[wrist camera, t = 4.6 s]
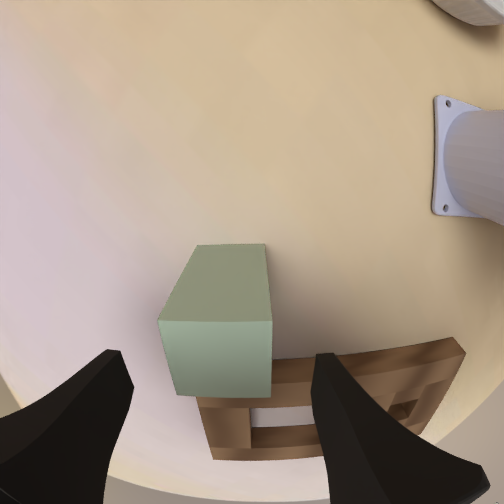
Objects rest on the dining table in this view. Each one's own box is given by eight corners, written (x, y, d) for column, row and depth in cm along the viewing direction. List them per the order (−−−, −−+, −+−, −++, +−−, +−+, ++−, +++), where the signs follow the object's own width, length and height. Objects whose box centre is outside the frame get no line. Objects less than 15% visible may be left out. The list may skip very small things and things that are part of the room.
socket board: (452, 336, 20) (466, 353, 17) (413, 418, 24) (420, 434, 22) (198, 359, 20) (192, 383, 18) (215, 440, 24) (213, 459, 22)
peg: (264, 243, 17) (272, 321, 9) (264, 302, 18) (270, 397, 11) (197, 245, 17) (157, 320, 9) (203, 303, 18) (177, 395, 11)
